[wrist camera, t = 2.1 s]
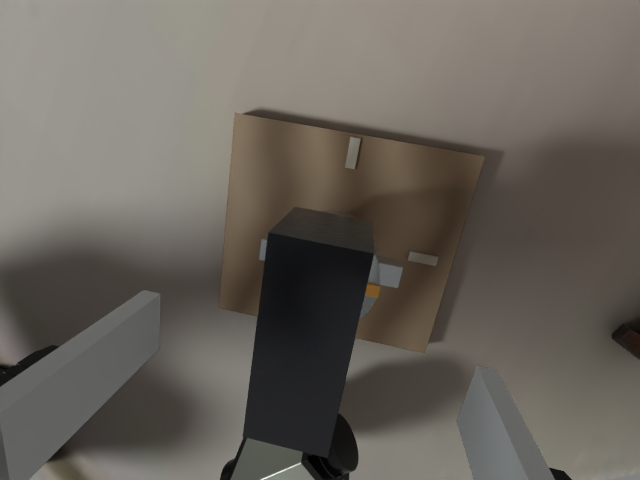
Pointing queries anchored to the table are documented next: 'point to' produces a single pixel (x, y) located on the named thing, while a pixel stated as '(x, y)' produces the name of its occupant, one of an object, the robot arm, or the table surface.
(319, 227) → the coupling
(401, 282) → the base
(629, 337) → the bolt
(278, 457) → the pneumatic valve
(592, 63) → the table surface
